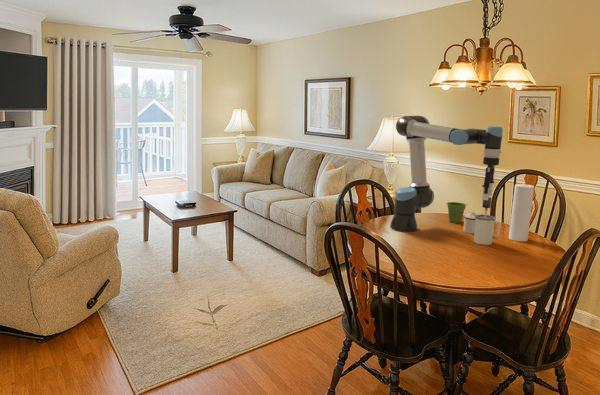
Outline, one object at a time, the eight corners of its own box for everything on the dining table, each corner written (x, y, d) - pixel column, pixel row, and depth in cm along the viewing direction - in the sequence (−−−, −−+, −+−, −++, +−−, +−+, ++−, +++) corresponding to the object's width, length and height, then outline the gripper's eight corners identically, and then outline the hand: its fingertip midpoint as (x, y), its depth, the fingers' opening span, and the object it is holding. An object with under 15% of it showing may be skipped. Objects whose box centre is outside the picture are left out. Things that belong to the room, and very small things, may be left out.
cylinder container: (528, 238, 255) (535, 184, 249) (526, 242, 247) (533, 187, 241) (509, 235, 260) (516, 182, 254) (507, 239, 252) (513, 185, 246)
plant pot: (468, 222, 288) (470, 204, 286) (459, 225, 280) (460, 206, 278) (451, 218, 296) (452, 201, 294) (441, 221, 288) (442, 203, 286)
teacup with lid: (481, 234, 260) (483, 214, 258) (464, 233, 262) (466, 213, 260) (476, 229, 272) (478, 209, 270) (460, 228, 274) (462, 208, 271)
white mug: (472, 242, 245) (474, 217, 242) (474, 238, 253) (477, 213, 250) (497, 246, 239) (499, 220, 236) (499, 242, 247) (501, 216, 244)
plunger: (476, 235, 244) (480, 198, 240) (478, 232, 250) (482, 196, 245) (488, 236, 242) (492, 199, 238) (490, 234, 247) (494, 197, 243)
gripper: (496, 160, 225) (491, 202, 229) (502, 155, 246) (497, 194, 251) (480, 158, 228) (475, 201, 233) (486, 154, 250) (482, 192, 254)
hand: (486, 197), depth 242 cm, fingers open, 13 cm apart
